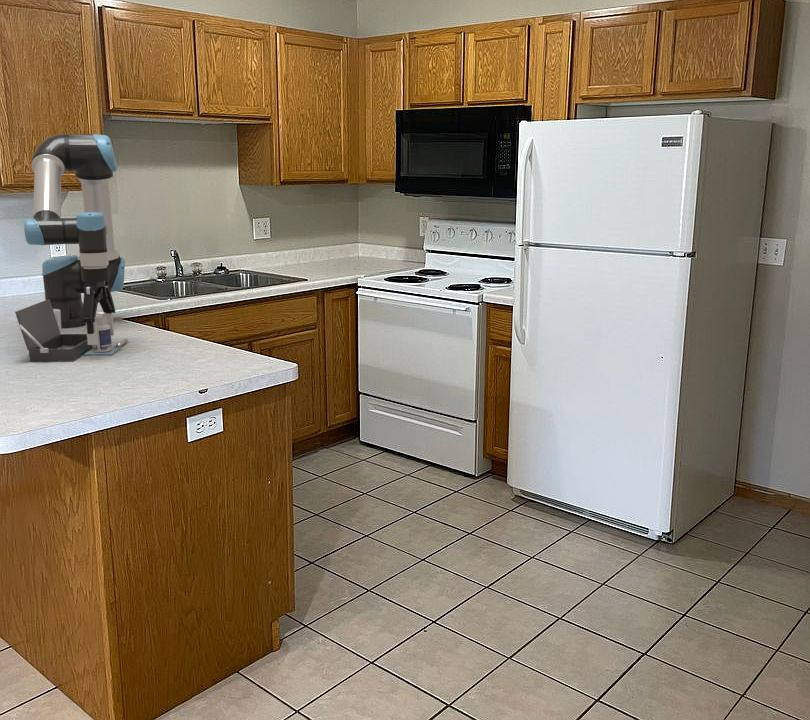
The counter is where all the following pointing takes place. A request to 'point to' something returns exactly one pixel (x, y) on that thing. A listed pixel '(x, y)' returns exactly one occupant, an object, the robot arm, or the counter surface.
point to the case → (48, 335)
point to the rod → (122, 343)
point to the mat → (108, 353)
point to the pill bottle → (102, 335)
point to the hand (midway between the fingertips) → (101, 339)
